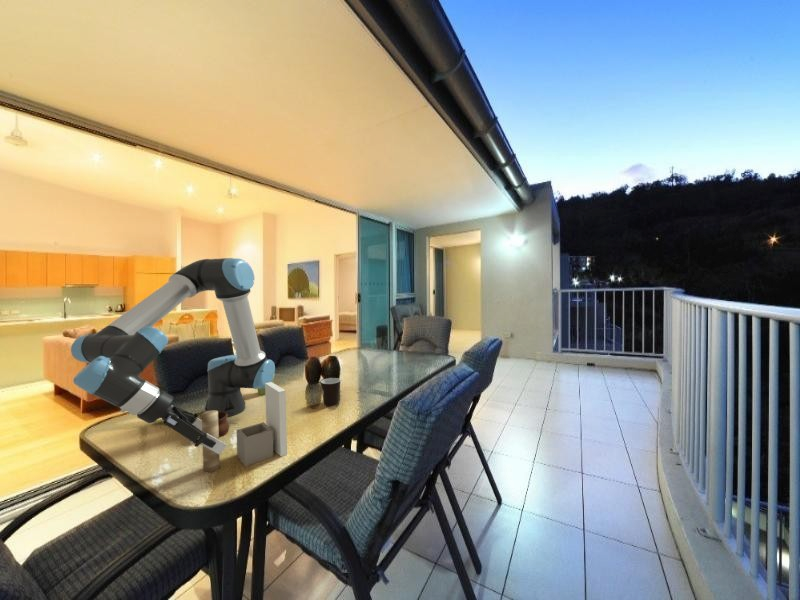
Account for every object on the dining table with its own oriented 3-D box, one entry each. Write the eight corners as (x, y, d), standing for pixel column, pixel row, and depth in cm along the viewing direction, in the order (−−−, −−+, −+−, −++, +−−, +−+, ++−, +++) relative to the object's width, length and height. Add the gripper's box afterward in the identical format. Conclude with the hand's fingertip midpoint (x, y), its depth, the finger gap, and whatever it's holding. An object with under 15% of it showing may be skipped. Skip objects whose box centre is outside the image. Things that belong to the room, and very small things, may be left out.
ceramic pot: (223, 420, 121) (222, 402, 120) (254, 429, 113) (253, 410, 113) (173, 441, 105) (172, 421, 104) (205, 453, 97) (204, 432, 97)
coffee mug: (338, 406, 133) (338, 383, 133) (318, 406, 133) (318, 383, 133) (344, 397, 145) (343, 376, 144) (325, 397, 145) (325, 376, 144)
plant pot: (270, 396, 147) (269, 378, 147) (250, 396, 147) (250, 378, 147) (278, 390, 156) (277, 373, 156) (260, 390, 157) (259, 373, 156)
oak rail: (199, 472, 86) (198, 415, 85) (209, 464, 90) (208, 410, 89) (213, 472, 85) (211, 416, 85) (222, 464, 89) (221, 410, 89)
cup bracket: (247, 469, 87) (245, 399, 86) (235, 453, 96) (233, 389, 95) (287, 454, 95) (285, 390, 94) (272, 440, 103) (271, 381, 103)
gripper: (133, 402, 85) (198, 437, 96) (137, 432, 67) (217, 471, 77) (157, 379, 89) (217, 416, 99) (166, 402, 70) (239, 443, 81)
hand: (217, 440), depth 88 cm, fingers open, 13 cm apart
